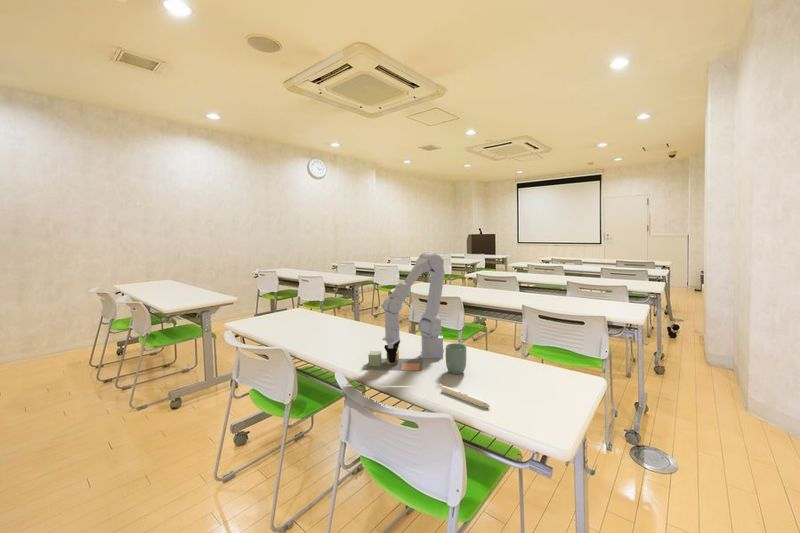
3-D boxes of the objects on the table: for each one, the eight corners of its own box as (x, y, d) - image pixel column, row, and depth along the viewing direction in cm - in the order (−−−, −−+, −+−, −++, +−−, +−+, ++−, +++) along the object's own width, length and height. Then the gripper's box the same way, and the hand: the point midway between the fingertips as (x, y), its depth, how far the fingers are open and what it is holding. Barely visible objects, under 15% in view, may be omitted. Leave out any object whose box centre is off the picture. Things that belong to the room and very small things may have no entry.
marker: (492, 408, 108) (492, 401, 107) (488, 411, 106) (488, 403, 106) (445, 390, 121) (445, 384, 120) (441, 392, 119) (441, 386, 119)
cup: (467, 369, 138) (467, 344, 138) (465, 377, 131) (465, 350, 130) (447, 367, 140) (447, 342, 140) (444, 375, 133) (444, 349, 132)
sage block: (381, 361, 147) (381, 351, 146) (379, 366, 142) (379, 354, 142) (370, 361, 147) (370, 351, 147) (368, 365, 143) (368, 354, 142)
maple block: (399, 360, 148) (398, 349, 148) (397, 364, 144) (397, 353, 143) (388, 360, 148) (387, 349, 148) (386, 364, 144) (386, 353, 144)
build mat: (422, 360, 149) (422, 358, 149) (421, 372, 136) (421, 370, 136) (370, 359, 151) (370, 358, 151) (364, 371, 139) (364, 369, 139)
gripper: (384, 323, 152) (385, 354, 153) (379, 332, 138) (380, 366, 139) (401, 323, 152) (401, 354, 153) (397, 332, 137) (398, 366, 138)
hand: (392, 360), depth 146 cm, fingers closed on maple block, 4 cm apart
